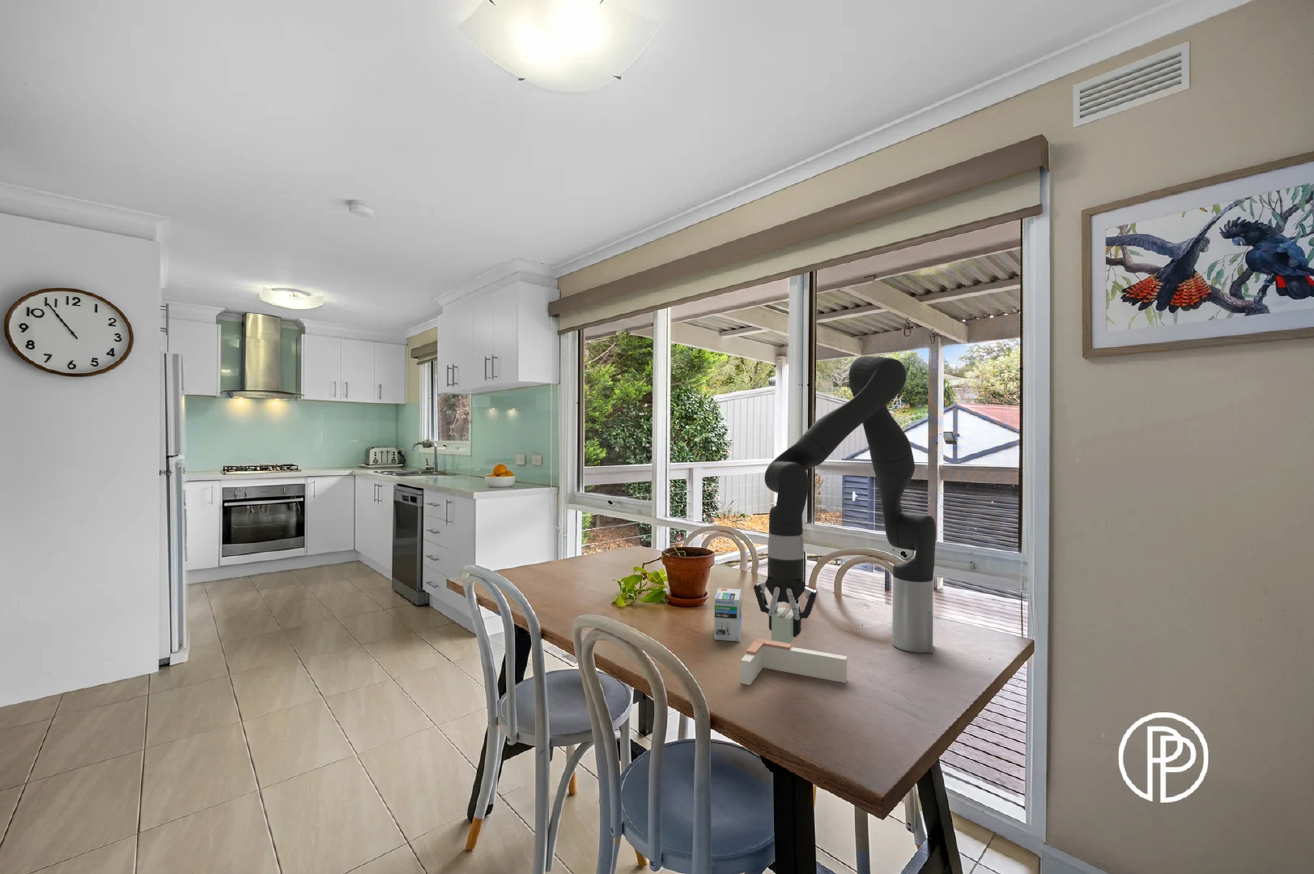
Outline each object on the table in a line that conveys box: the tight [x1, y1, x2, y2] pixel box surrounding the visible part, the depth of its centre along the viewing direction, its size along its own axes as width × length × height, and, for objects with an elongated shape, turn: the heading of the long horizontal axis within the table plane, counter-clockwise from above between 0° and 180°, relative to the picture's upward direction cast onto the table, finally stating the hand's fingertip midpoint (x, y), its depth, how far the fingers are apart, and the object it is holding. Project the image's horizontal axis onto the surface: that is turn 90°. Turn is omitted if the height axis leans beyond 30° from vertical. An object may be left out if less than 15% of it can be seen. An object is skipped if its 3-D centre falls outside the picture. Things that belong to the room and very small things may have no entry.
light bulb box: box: [713, 587, 743, 642], centre depth 151 cm, size 11×7×11 cm, turn 168°
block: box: [771, 607, 796, 644], centre depth 123 cm, size 7×4×5 cm, turn 154°
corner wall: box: [740, 638, 848, 686], centre depth 122 cm, size 20×12×6 cm, turn 64°
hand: (785, 633), depth 123 cm, fingers closed on block, 4 cm apart
